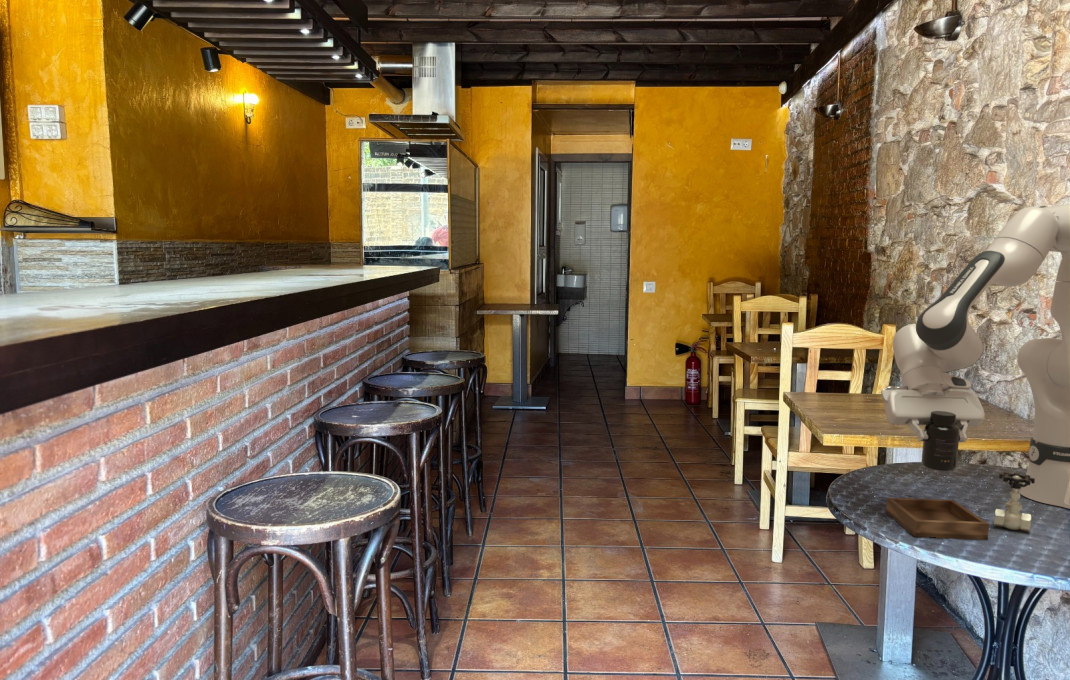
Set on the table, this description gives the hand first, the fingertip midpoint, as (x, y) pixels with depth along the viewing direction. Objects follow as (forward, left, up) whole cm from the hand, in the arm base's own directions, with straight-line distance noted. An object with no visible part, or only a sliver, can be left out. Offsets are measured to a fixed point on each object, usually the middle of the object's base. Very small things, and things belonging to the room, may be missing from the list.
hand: (943, 440), depth 165 cm
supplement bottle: (0, -1, -6) cm, 6 cm away
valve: (-16, 0, -20) cm, 25 cm away
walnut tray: (0, 0, -19) cm, 19 cm away
